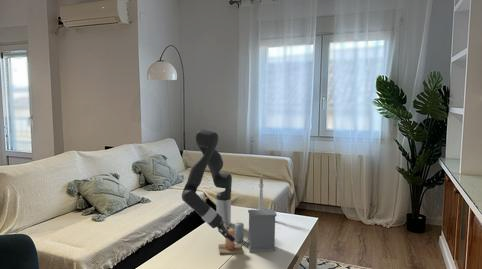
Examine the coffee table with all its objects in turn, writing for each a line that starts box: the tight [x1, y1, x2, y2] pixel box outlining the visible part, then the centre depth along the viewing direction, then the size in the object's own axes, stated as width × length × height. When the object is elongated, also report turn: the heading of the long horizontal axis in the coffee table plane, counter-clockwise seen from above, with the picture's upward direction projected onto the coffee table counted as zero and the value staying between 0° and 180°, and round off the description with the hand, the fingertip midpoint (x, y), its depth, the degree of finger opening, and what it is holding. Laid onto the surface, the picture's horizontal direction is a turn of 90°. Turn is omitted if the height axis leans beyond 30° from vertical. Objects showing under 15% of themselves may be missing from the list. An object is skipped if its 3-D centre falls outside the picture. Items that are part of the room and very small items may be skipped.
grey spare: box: [234, 222, 245, 244], centre depth 193 cm, size 5×5×10 cm
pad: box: [218, 243, 243, 256], centre depth 183 cm, size 10×12×1 cm
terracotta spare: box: [224, 227, 236, 250], centre depth 182 cm, size 5×5×10 cm
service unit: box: [247, 208, 277, 253], centre depth 184 cm, size 8×14×20 cm, turn 97°
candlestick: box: [257, 174, 265, 210], centre depth 229 cm, size 13×13×30 cm
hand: (232, 236), depth 183 cm, fingers open, 8 cm apart
